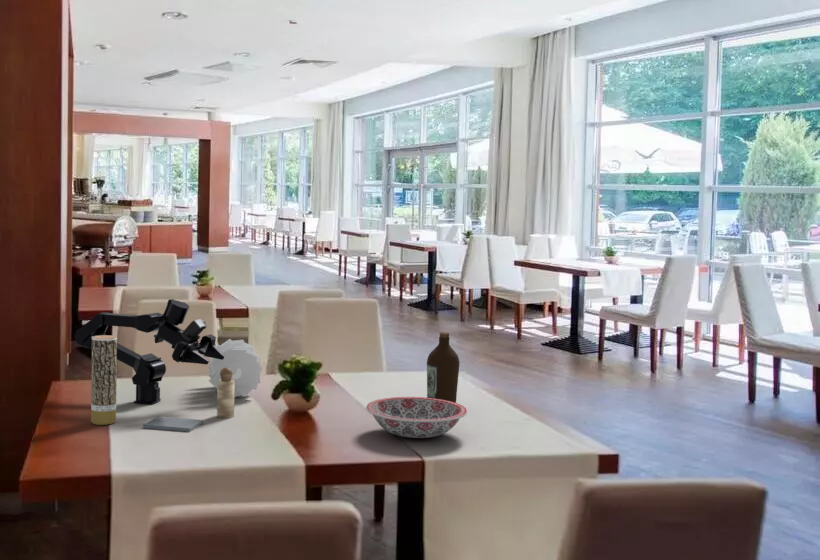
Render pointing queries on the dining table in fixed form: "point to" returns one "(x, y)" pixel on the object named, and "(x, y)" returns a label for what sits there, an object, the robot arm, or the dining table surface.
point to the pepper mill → (225, 394)
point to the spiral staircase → (237, 366)
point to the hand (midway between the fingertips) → (216, 360)
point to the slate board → (173, 424)
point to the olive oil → (443, 371)
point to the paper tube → (103, 379)
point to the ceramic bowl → (416, 415)
